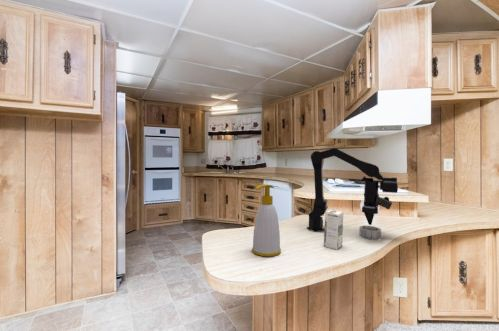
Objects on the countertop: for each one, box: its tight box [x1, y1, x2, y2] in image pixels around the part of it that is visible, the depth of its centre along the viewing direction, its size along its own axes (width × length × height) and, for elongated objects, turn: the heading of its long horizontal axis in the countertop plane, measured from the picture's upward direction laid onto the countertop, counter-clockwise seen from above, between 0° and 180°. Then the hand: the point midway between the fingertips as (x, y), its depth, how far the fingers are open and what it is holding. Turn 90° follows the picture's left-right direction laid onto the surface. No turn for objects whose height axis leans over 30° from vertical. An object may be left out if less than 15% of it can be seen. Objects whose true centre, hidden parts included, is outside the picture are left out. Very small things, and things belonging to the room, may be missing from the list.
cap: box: [364, 226, 376, 231], centre depth 113 cm, size 5×5×4 cm
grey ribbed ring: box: [358, 225, 382, 241], centre depth 113 cm, size 9×9×4 cm
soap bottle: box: [251, 183, 282, 257], centre depth 94 cm, size 11×12×26 cm
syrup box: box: [323, 209, 344, 250], centre depth 100 cm, size 6×6×14 cm
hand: (370, 224), depth 113 cm, fingers closed
